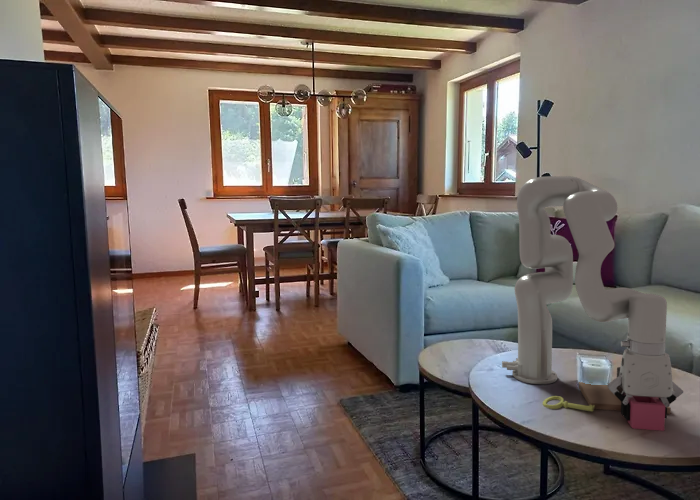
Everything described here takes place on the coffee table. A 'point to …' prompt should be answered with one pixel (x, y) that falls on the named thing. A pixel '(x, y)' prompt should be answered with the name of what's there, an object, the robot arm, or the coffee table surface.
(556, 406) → the key
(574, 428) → the coffee table surface
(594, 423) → the coffee table surface
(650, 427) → the sleeve
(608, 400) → the bobbin stand
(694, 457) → the coffee table surface
